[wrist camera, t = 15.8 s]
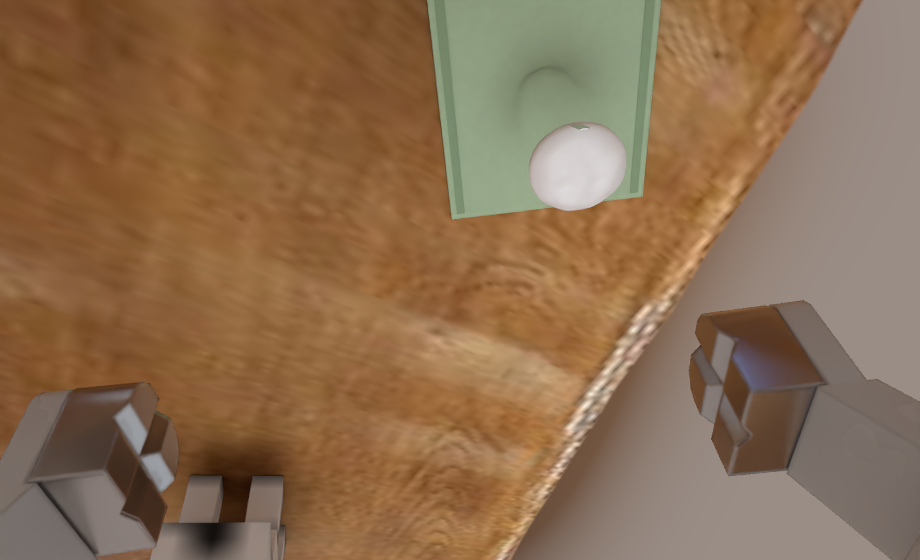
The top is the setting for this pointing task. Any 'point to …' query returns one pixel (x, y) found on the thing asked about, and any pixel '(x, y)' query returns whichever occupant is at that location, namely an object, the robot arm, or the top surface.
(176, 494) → the top surface
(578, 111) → the milkshake
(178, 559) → the toy llama
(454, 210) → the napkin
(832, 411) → the robot arm
